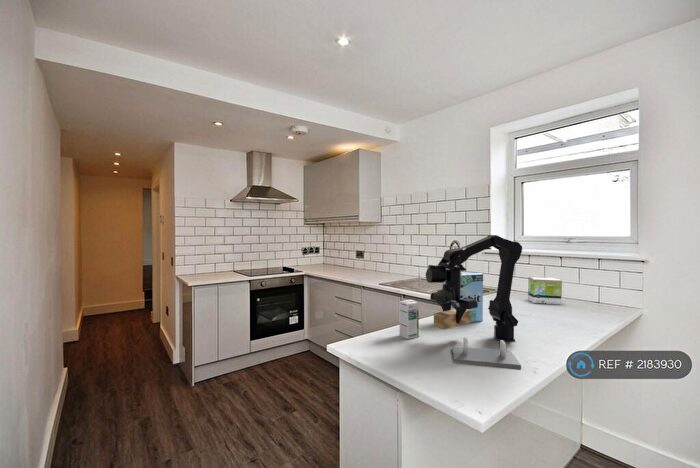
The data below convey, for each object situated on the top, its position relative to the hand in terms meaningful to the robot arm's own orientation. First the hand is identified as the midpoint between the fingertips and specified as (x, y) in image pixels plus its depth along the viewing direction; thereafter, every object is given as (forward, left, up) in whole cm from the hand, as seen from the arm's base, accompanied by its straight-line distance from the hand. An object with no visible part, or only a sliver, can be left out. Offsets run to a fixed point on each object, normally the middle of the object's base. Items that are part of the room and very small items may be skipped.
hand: (452, 321), depth 125 cm
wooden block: (0, 0, -1) cm, 1 cm away
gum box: (-7, -30, -8) cm, 32 cm away
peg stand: (-9, +14, -8) cm, 18 cm away
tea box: (-61, -84, -8) cm, 104 cm away
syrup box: (+17, -3, -8) cm, 19 cm away
